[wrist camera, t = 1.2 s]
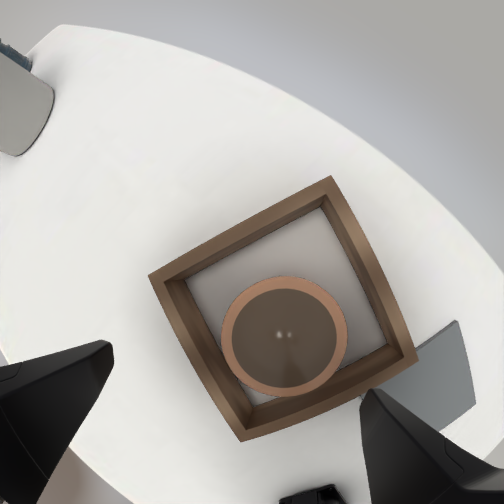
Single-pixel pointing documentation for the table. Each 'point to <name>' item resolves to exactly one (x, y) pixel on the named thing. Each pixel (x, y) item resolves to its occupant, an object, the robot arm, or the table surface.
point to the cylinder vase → (21, 106)
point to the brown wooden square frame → (213, 362)
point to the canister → (15, 56)
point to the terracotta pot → (284, 336)
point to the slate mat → (436, 380)
